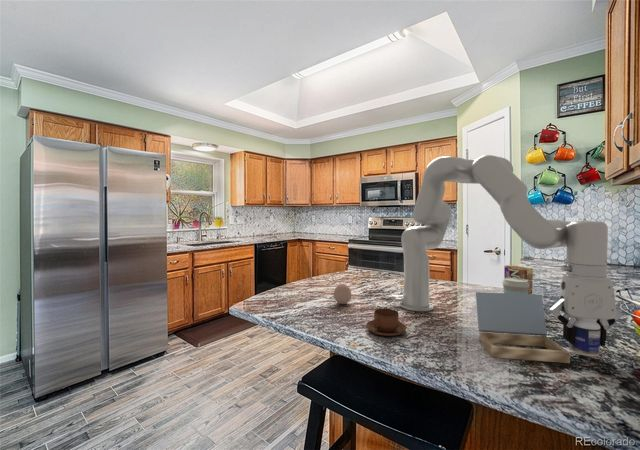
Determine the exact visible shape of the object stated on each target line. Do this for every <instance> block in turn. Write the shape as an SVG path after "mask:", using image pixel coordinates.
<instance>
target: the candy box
mask: <svg viewBox="0 0 640 450" xmlns="http://www.w3.org/2000/svg"><path fill="white" fill-rule="evenodd" d="M503 268H504V270H503V271H504V272H503V273H504V274H503V275H504V277H503V279H504V278H521V279H525V280H528V283H529V286H530V287H529V289H528V294H533V285H534V284H533V282H534V281H533V280H534V279H533V278H534V273H533V271H534V269H533V267H526V266H519V265H513V264H507V265H504V267H503Z"/></svg>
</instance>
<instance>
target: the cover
mask: <svg viewBox="0 0 640 450" xmlns="http://www.w3.org/2000/svg"><path fill="white" fill-rule="evenodd" d="M475 299H476V300H475V301H476V315H477V327H478V328H477V329H478V333H479V332H486V333H501V334H517V335H533V336H547V337H548V332H547V325H546V324H547V323H546V318H545V317H546V315H545V309H544V301H543V294H534V293H532V294H509V293H504V292H503V293H502V292H482V291H481V292H480V291H479V292H478V291H476V292H475Z"/></svg>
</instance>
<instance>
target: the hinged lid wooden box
mask: <svg viewBox="0 0 640 450" xmlns="http://www.w3.org/2000/svg"><path fill="white" fill-rule="evenodd" d="M478 336H479V337H478V338H479V339H478V341H479V343H480V344H481V345H482V346H483V347H484V348H485V350H486V352H488V353H489V355H490V356H491V357H492V358H499V359H511V360H513V359H514V360H525V361H526V360H527V361H537V362H538V361H539V362H552V363H564V364H570V363H571V352H570V351H568V350H567V349H565V348H564V347H563V346H561V345H560V344H558V343H557V342H556V341H555V340H553V339H551V338H550V337H548V335H547V336H538V335H522V334H506V333H490V332H479V331H478ZM495 344H500V345H495ZM501 345H502V346H501ZM505 345H516V346H526V347H516V346H505ZM527 346H528V347H529V348H528V347H527ZM531 347H542V349H541V348H531ZM543 347H545V348H546V349H545V348H544V349H543Z"/></svg>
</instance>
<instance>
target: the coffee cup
mask: <svg viewBox="0 0 640 450" xmlns="http://www.w3.org/2000/svg"><path fill="white" fill-rule="evenodd" d="M501 285H502V287H503V293H509V294H528V289H529V287H530V286H529V283H528V280H525V279H521V278H504V277H503V280H502V283H501Z"/></svg>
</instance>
